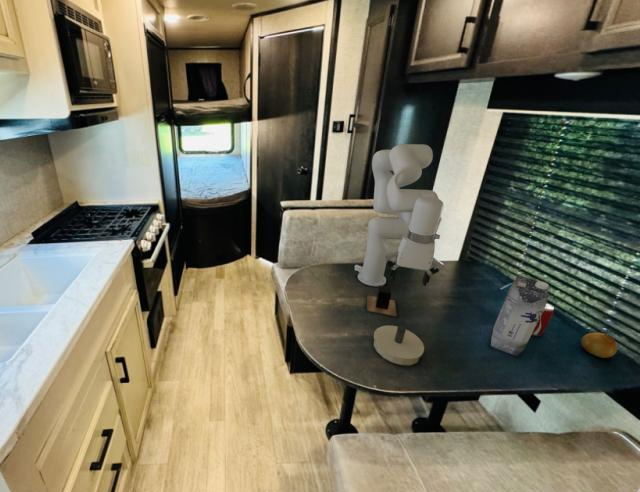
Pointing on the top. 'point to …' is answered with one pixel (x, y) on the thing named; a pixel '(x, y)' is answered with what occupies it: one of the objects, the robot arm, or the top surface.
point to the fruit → (599, 344)
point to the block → (383, 297)
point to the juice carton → (519, 315)
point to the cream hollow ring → (394, 359)
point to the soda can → (543, 320)
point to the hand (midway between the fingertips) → (408, 280)
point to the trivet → (373, 308)
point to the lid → (399, 342)
